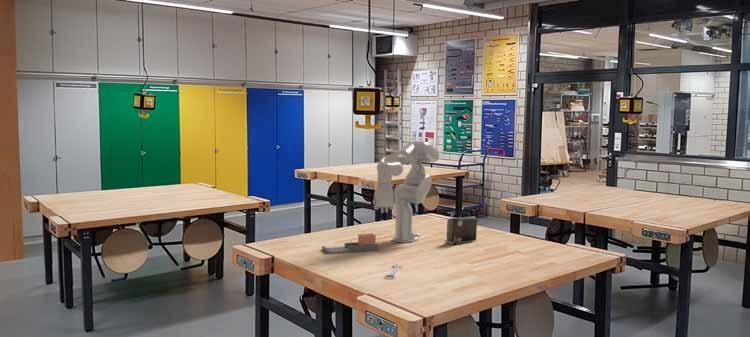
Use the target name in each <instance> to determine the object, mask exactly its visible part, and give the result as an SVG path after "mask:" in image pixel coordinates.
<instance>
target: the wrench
mask: <svg viewBox="0 0 750 337" xmlns="http://www.w3.org/2000/svg"><path fill="white" fill-rule="evenodd" d="M401 267H402V268H404V265H399V264H398V263H393V264H392V265H391V268H393V269H392V270H391V272H390V273H389V274H385V275H384V277H383V278H384V279H385V278H386V279H385V280H389V279H391V280H395V279H396V275H395V274H396V273H397V271H398V270H399V269H402V268H401ZM398 268H399V269H398ZM388 276H389V277H388ZM390 276H391V277H390ZM394 278H395V279H394Z"/></svg>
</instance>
